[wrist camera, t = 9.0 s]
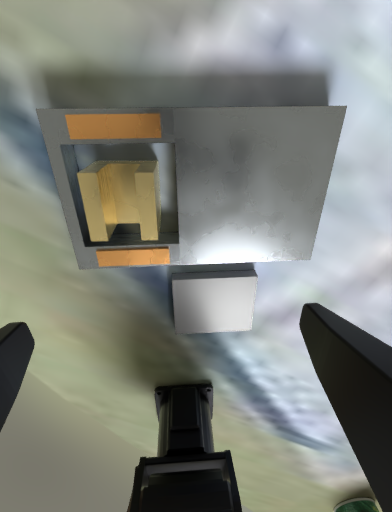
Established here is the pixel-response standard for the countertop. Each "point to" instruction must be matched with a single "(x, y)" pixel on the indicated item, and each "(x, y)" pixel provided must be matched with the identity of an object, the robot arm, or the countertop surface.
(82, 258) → the rail plate
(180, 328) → the tab
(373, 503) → the canned tomato
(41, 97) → the countertop surface
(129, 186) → the brass clip
